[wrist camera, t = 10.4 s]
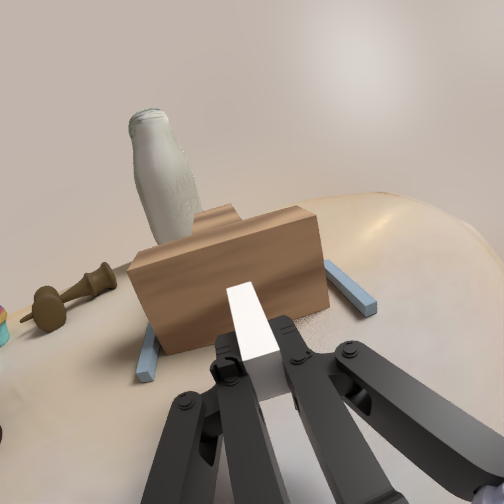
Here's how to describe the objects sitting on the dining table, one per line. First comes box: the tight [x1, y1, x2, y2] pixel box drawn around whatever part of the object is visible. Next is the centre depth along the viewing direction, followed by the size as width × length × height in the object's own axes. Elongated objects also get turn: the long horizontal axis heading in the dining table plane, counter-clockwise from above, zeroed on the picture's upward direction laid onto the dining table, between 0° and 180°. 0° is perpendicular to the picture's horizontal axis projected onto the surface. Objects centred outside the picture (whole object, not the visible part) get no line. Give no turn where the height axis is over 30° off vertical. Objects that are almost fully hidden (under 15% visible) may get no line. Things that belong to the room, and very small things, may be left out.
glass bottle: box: [129, 108, 203, 245], centre depth 47 cm, size 10×10×28 cm
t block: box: [127, 204, 330, 356], centre depth 30 cm, size 16×16×9 cm
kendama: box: [20, 262, 117, 332], centre depth 38 cm, size 6×10×20 cm
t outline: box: [136, 259, 377, 383], centre depth 31 cm, size 22×21×1 cm
